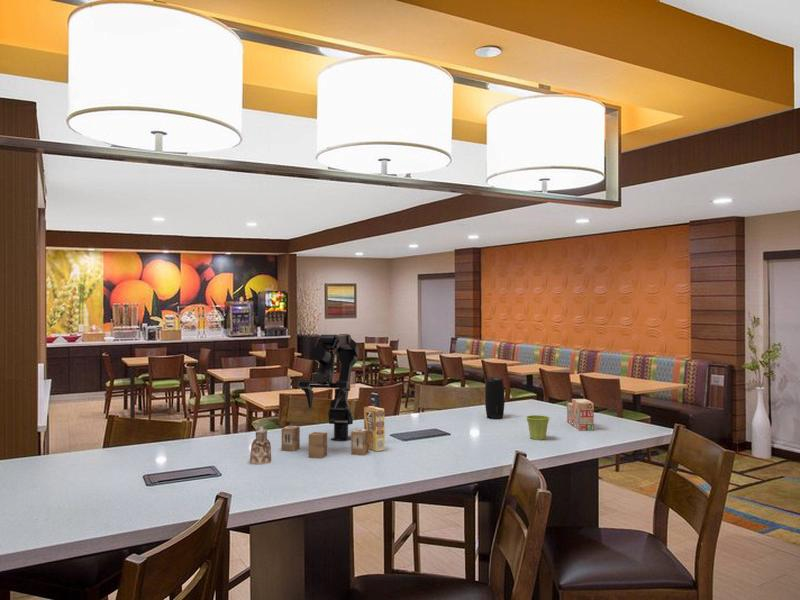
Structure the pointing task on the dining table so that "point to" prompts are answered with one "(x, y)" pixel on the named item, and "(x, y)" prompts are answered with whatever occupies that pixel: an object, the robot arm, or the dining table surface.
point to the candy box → (375, 427)
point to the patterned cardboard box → (581, 414)
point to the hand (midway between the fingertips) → (321, 408)
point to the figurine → (260, 447)
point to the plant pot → (537, 426)
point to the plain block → (317, 445)
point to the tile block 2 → (359, 442)
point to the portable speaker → (494, 397)
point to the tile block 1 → (290, 438)
